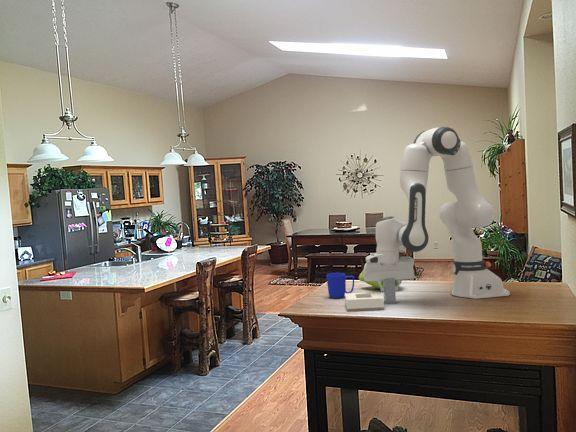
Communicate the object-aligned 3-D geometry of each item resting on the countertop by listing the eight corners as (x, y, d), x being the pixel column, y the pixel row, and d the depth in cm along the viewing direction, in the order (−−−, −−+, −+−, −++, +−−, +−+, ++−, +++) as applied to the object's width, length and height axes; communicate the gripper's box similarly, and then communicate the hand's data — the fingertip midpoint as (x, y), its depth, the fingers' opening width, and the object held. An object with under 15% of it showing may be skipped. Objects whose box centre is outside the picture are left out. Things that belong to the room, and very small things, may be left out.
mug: (354, 299, 215) (353, 275, 214) (326, 299, 217) (325, 276, 217) (355, 294, 223) (354, 272, 222) (328, 295, 225) (327, 273, 225)
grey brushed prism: (394, 300, 207) (392, 276, 207) (396, 303, 202) (394, 278, 202) (384, 301, 208) (383, 277, 207) (385, 303, 203) (384, 279, 202)
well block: (380, 302, 205) (379, 291, 205) (384, 309, 193) (383, 298, 193) (345, 304, 206) (344, 293, 206) (347, 311, 194) (346, 300, 194)
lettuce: (366, 284, 244) (365, 256, 243) (407, 286, 234) (406, 257, 233) (354, 291, 230) (353, 261, 229) (397, 293, 220) (396, 262, 220)
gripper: (412, 254, 207) (413, 288, 207) (362, 257, 208) (363, 290, 208) (415, 256, 200) (416, 291, 201) (363, 259, 201) (365, 293, 202)
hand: (389, 291), depth 205 cm, fingers closed on grey brushed prism, 4 cm apart
